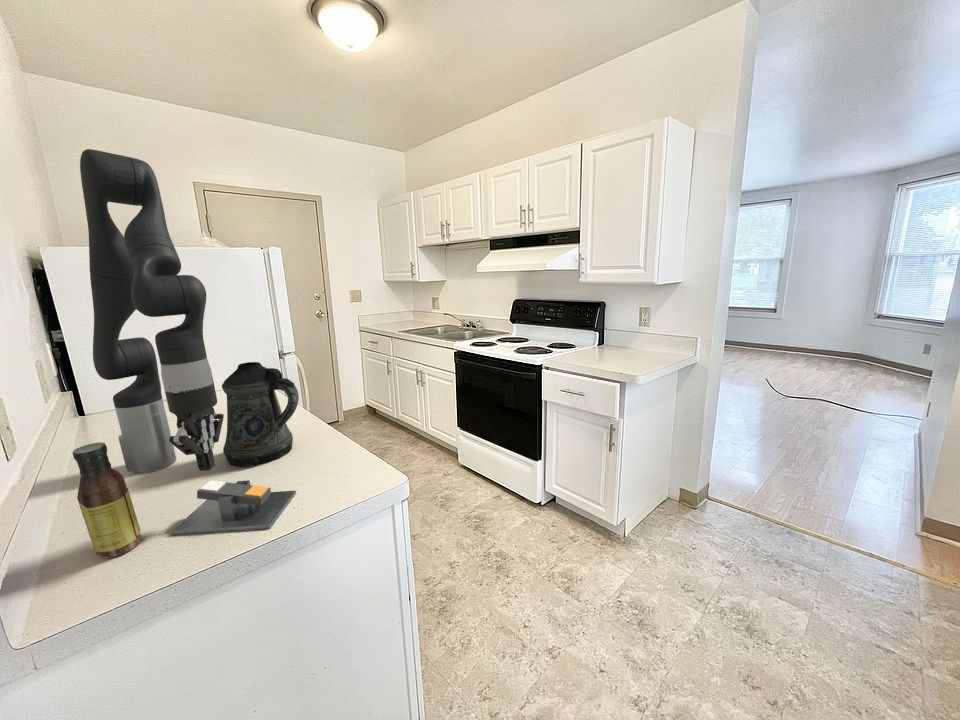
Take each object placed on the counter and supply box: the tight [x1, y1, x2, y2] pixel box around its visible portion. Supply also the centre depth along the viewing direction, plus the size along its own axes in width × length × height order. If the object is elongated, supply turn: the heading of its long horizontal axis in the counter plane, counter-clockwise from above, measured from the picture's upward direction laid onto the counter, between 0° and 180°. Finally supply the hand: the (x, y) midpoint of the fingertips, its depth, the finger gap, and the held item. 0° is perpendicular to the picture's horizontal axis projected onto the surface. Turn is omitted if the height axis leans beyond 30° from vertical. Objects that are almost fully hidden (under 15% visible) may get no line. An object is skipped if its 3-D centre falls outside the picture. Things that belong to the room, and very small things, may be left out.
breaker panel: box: [170, 479, 297, 536], centre depth 79 cm, size 18×12×5 cm, turn 93°
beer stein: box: [221, 361, 300, 468], centre depth 105 cm, size 16×19×25 cm
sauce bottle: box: [72, 441, 142, 559], centre depth 68 cm, size 6×6×20 cm
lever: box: [196, 479, 272, 506], centre depth 79 cm, size 12×4×2 cm, turn 93°
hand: (207, 469), depth 77 cm, fingers closed
